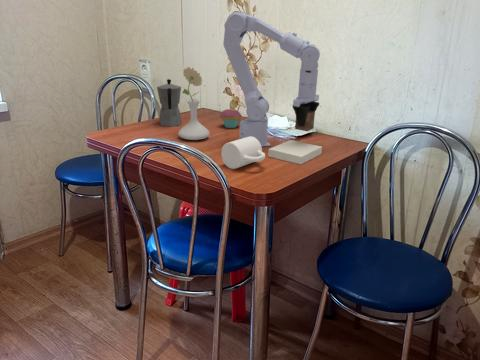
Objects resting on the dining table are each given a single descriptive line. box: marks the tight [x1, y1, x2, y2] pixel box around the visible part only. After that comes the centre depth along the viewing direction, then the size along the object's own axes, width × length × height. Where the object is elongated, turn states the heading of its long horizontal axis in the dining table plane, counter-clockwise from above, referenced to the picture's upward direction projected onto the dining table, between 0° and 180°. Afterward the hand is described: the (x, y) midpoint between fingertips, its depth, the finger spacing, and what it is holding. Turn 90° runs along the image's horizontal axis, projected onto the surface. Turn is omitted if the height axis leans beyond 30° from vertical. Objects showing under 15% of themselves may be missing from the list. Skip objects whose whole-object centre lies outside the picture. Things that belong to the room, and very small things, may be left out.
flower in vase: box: [177, 66, 211, 141], centre depth 150 cm, size 13×11×25 cm
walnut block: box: [294, 110, 316, 132], centre depth 143 cm, size 5×5×6 cm
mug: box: [220, 136, 266, 170], centre depth 126 cm, size 12×10×8 cm
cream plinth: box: [267, 139, 323, 166], centre depth 138 cm, size 14×12×2 cm
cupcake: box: [219, 99, 242, 129], centre depth 169 cm, size 9×8×12 cm
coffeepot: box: [156, 78, 183, 128], centre depth 168 cm, size 15×9×18 cm, turn 9°
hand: (304, 124), depth 143 cm, fingers closed on walnut block, 5 cm apart
